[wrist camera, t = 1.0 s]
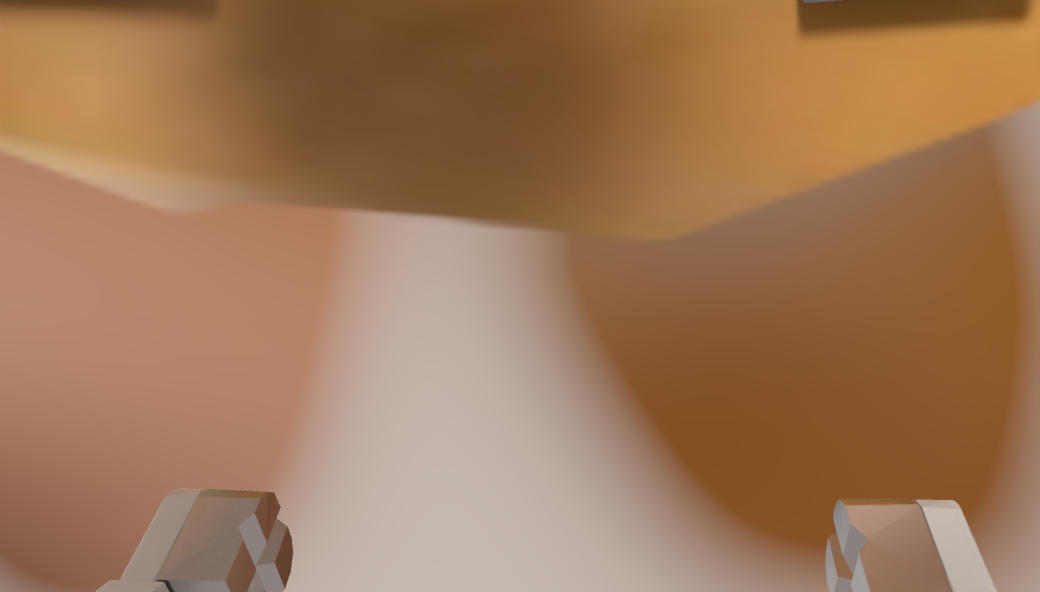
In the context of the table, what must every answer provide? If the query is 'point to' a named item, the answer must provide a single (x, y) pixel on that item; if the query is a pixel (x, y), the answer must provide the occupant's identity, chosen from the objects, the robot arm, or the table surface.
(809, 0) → the tray
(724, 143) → the table surface
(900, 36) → the table surface
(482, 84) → the table surface
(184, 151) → the table surface
